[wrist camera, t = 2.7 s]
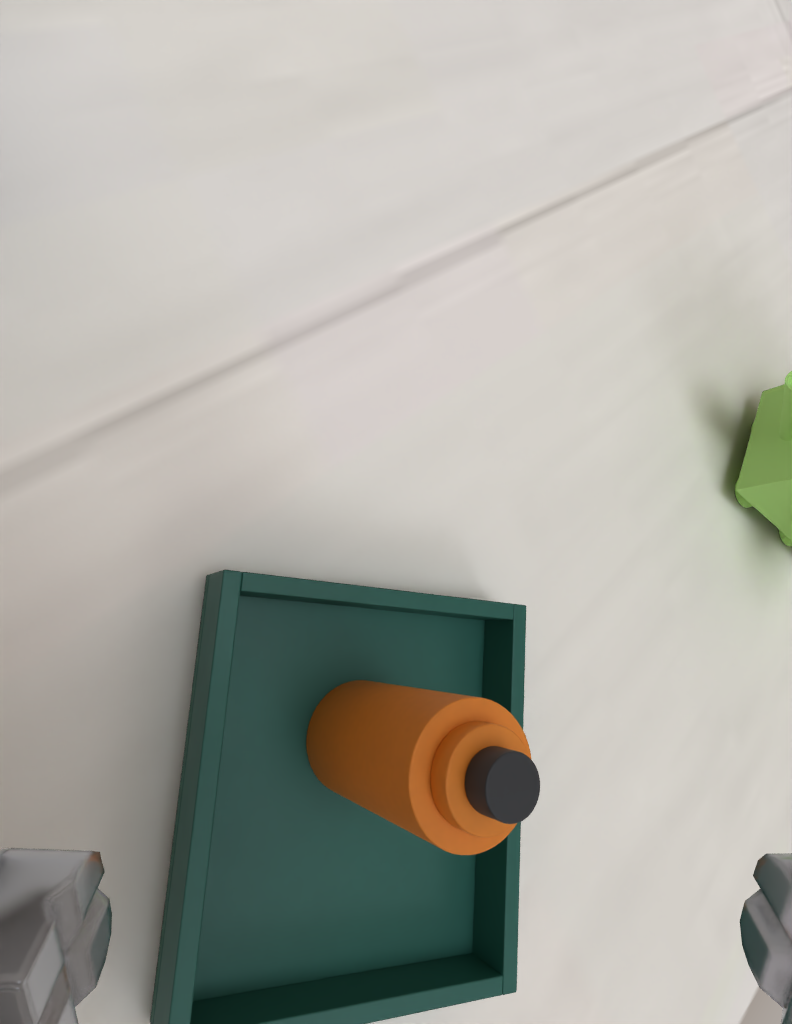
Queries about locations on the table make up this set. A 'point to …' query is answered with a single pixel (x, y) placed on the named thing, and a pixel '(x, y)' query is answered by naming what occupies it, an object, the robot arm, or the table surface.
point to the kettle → (770, 461)
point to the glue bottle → (426, 761)
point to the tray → (326, 817)
